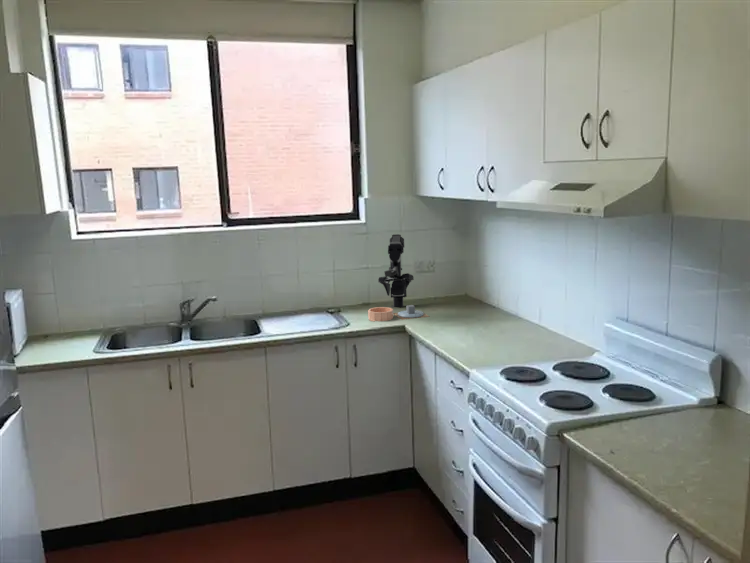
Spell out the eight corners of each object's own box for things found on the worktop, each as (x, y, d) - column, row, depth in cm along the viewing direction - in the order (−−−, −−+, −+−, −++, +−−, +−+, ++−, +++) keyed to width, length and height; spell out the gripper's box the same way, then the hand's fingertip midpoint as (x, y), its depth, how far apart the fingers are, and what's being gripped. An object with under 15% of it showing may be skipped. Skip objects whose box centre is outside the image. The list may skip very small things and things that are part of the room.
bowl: (365, 317, 340) (365, 308, 339) (388, 315, 344) (388, 306, 343) (372, 322, 328) (372, 313, 327) (396, 320, 332) (396, 311, 331)
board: (392, 314, 346) (392, 313, 346) (419, 311, 351) (419, 310, 351) (401, 320, 331) (401, 319, 331) (429, 317, 336) (429, 316, 335)
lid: (394, 313, 345) (394, 304, 344) (418, 310, 349) (417, 302, 348) (402, 319, 332) (402, 309, 331) (427, 316, 336) (427, 307, 335)
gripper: (372, 265, 333) (372, 294, 330) (403, 260, 324) (403, 290, 320) (383, 269, 343) (383, 297, 339) (413, 264, 333) (414, 293, 330)
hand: (395, 294), depth 332 cm, fingers open, 9 cm apart
